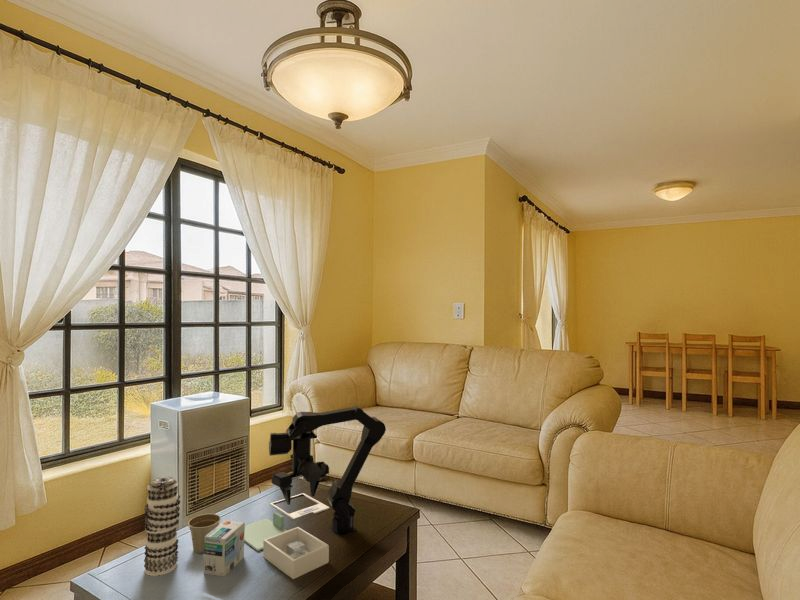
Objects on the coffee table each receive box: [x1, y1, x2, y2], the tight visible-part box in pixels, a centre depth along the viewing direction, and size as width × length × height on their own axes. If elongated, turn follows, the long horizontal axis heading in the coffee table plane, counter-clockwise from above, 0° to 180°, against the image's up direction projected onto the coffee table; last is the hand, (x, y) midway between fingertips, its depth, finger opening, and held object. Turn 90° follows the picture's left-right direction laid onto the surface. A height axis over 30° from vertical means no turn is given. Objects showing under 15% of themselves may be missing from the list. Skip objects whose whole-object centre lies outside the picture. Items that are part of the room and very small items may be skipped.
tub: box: [262, 526, 330, 580], centre depth 136 cm, size 12×16×6 cm
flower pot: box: [187, 513, 222, 554], centre depth 143 cm, size 9×9×9 cm
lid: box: [244, 511, 287, 552], centre depth 150 cm, size 13×17×5 cm
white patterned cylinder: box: [143, 476, 181, 577], centre depth 132 cm, size 9×9×25 cm
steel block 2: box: [290, 552, 303, 559], centre depth 133 cm, size 4×4×2 cm
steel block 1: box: [286, 540, 305, 555], centre depth 140 cm, size 4×4×2 cm
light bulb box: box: [203, 519, 246, 577], centre depth 133 cm, size 11×7×11 cm, turn 168°
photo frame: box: [269, 492, 330, 520], centre depth 173 cm, size 15×1×18 cm
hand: (300, 500), depth 150 cm, fingers open, 9 cm apart
